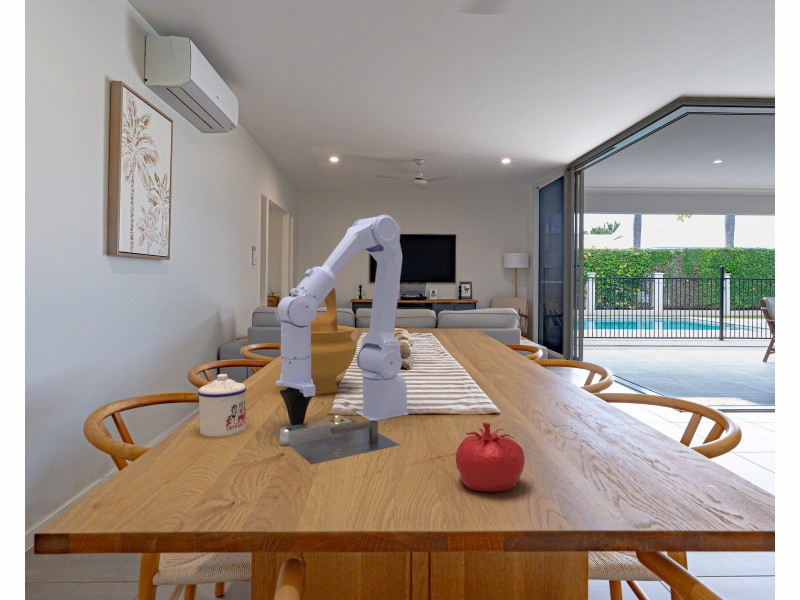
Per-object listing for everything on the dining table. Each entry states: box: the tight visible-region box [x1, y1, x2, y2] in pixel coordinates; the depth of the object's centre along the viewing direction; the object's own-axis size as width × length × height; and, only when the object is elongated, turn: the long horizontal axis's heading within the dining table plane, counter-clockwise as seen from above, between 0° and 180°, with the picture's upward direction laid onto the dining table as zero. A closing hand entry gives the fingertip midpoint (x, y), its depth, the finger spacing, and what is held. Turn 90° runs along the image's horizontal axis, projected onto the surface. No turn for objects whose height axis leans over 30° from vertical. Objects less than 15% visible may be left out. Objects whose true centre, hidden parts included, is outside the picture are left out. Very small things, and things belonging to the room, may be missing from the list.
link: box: [279, 415, 352, 447], centre depth 91 cm, size 13×4×3 cm, turn 122°
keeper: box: [331, 419, 379, 443], centre depth 86 cm, size 9×1×4 cm, turn 122°
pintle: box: [332, 413, 342, 423], centre depth 93 cm, size 2×2×4 cm
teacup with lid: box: [197, 373, 247, 438], centre depth 97 cm, size 12×9×12 cm
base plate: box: [273, 418, 401, 465], centre depth 91 cm, size 17×20×1 cm
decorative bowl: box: [278, 287, 357, 395], centre depth 133 cm, size 21×21×30 cm
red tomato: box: [455, 421, 526, 493], centre depth 71 cm, size 10×10×9 cm
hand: (297, 425), depth 95 cm, fingers closed
